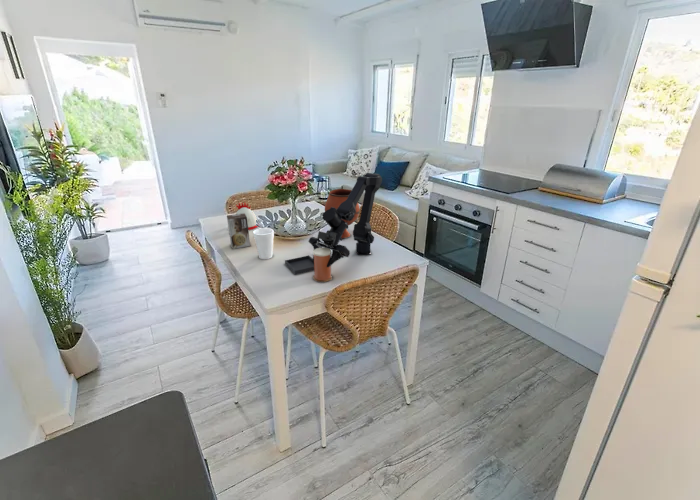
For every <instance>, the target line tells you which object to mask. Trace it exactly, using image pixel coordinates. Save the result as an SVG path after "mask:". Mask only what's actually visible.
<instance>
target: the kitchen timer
mask: <svg viewBox="0 0 700 500" xmlns="http://www.w3.org/2000/svg"><path fill="white" fill-rule="evenodd" d="M235 206H236V208H237V209H238V210H237V211H236V212H235V214H243V213H245V215H246V216H247V223H248V231H252V230H256V229H258V227H259V225H258V226H256V220H257V221H258V218H257V216H256V214H255V212H254V211H253V210H252V209H251V206H252V205H251V204H250V206H249V203H246V202H244V203H243V202H242V201H241V203H240V202H238V204H236V205H235Z"/></svg>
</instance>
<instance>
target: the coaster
mask: <svg viewBox="0 0 700 500" xmlns="http://www.w3.org/2000/svg"><path fill="white" fill-rule="evenodd" d="M312 276H313V277H312V278H313V280H314V281H315V282H317V283H327V282H330V281H332V279H333V276H332V274H331V278H330V279H328V280H317V279H315V277H314V275H312Z"/></svg>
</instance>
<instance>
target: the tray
mask: <svg viewBox="0 0 700 500" xmlns="http://www.w3.org/2000/svg"><path fill="white" fill-rule="evenodd" d="M284 265H285V266H286V267H287V268H288V269H289V270H290V271H291V273H293V275H296V276H297V275H301V274H304V273H309V272H312V271H313V272H314V262H313V256H311V255H309V254H308V255H304V256H300V257H295V258H289V259H286V260H285V259H284Z"/></svg>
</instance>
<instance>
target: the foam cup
mask: <svg viewBox="0 0 700 500" xmlns="http://www.w3.org/2000/svg"><path fill="white" fill-rule="evenodd" d="M252 234H253V238H254V242H255V246H256V250H257V254H258V258H259V259H260V260H269V259H271V258H273V253H274V238H275V237H274V236H275V231H274V229H272V228H271V227H260V228H255V229H253V231H252Z"/></svg>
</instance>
